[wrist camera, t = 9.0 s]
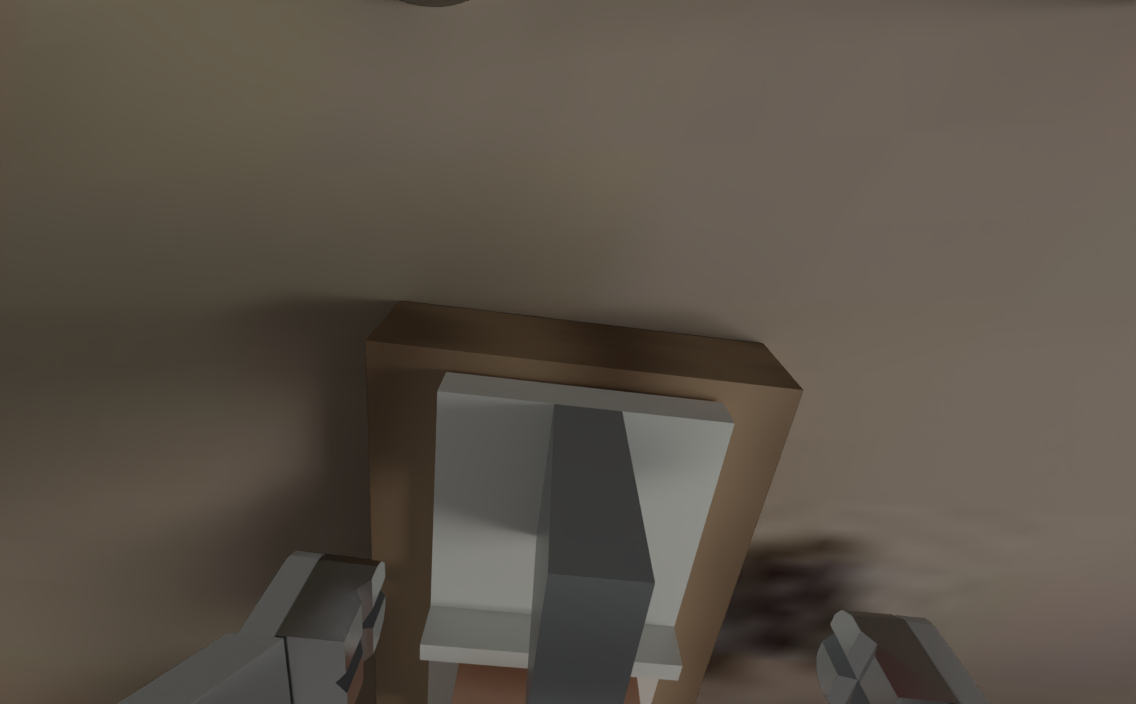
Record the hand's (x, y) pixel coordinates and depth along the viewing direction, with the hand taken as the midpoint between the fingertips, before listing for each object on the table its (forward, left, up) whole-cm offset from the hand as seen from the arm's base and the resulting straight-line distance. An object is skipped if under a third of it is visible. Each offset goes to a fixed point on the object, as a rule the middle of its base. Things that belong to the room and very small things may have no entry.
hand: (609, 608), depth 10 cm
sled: (+1, +9, -5) cm, 10 cm away
